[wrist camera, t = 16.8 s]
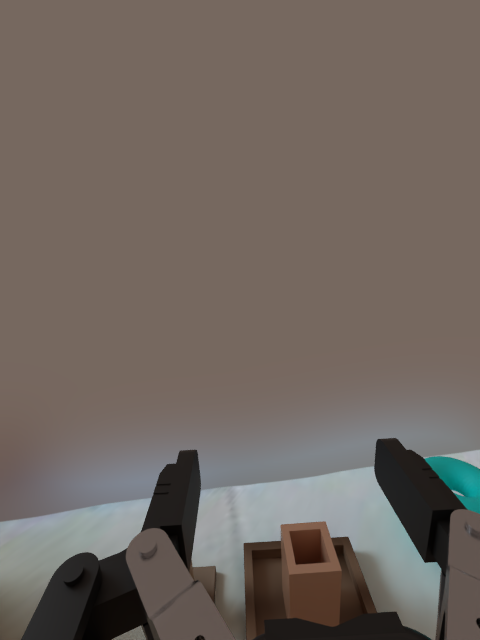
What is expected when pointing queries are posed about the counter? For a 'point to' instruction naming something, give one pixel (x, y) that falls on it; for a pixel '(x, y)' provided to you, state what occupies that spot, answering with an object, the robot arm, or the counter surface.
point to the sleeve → (310, 573)
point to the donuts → (459, 479)
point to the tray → (267, 584)
